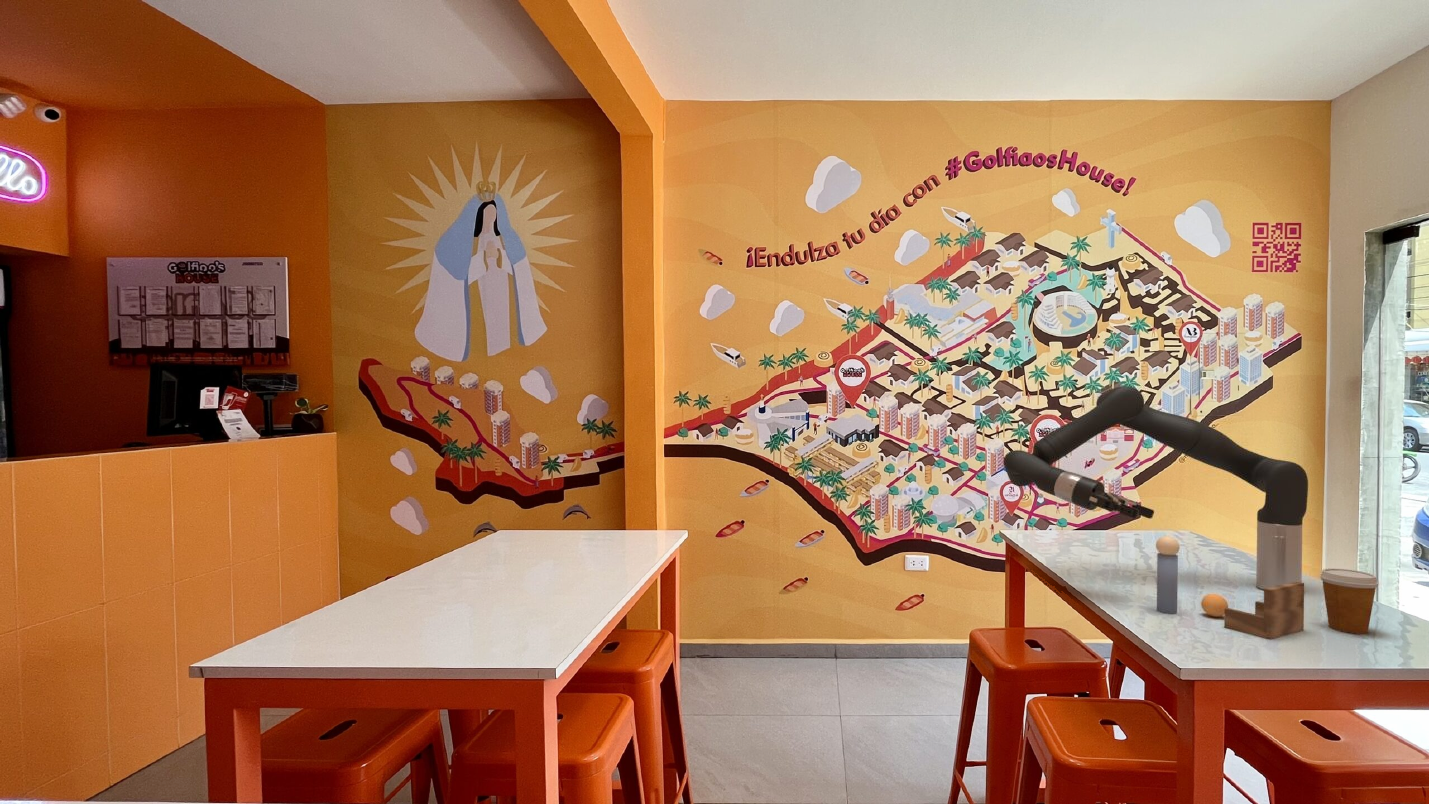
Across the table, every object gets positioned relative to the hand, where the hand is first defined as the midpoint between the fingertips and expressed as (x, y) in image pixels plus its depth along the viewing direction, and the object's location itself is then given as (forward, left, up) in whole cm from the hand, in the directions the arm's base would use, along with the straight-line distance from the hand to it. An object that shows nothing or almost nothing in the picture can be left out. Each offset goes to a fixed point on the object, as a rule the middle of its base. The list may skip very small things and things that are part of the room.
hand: (1145, 514), depth 171 cm
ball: (-7, +12, -19) cm, 23 cm away
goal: (-6, +21, -22) cm, 31 cm away
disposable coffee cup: (-23, +30, -22) cm, 43 cm away
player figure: (-1, +5, -22) cm, 22 cm away
